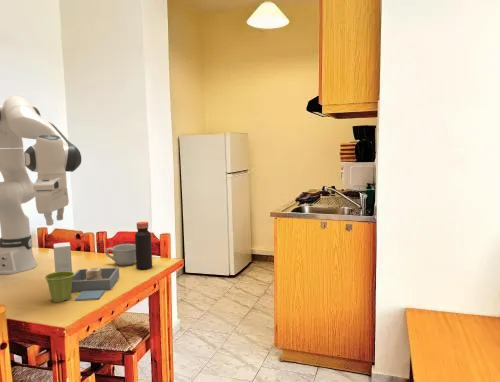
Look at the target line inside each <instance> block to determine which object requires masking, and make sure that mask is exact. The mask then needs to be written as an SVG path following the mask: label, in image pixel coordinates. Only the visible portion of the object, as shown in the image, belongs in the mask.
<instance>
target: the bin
mask: <svg viewBox="0 0 500 382" xmlns="http://www.w3.org/2000/svg"><path fill="white" fill-rule="evenodd" d="M100 268H101V275H102V280H86V271H87V270H88V269H89V268H83V269H82V268H81V269H78V270H77V271H76V272H74V276H73V279H72V289H71V293H81V292H82V291H96V290H105V291H112V289H113V287H115V284H116V283H117V281H118V280H119V279H120V268H119V267H107V268H106V267H104V268H102V267H100Z"/></svg>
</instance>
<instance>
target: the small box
mask: <svg viewBox="0 0 500 382" xmlns="http://www.w3.org/2000/svg"><path fill="white" fill-rule="evenodd" d="M71 249H72V248H71V243H70V242H69V241H68V242H58V243H57V242H56V243H53V255H54V256H53V257H54V259H53V261H54V273H55V272H62V271H70V272H73V265H72V250H71Z"/></svg>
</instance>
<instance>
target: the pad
mask: <svg viewBox="0 0 500 382" xmlns="http://www.w3.org/2000/svg"><path fill="white" fill-rule="evenodd" d="M104 294H105V290H96V291H82V292H79V294H78V295H77V296H76V298H75V300H74V301H75V302H76V301H78V302H79V301H96V300H97V301H98V300H100V299H101V298H102V296H104Z"/></svg>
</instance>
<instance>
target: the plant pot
mask: <svg viewBox="0 0 500 382" xmlns="http://www.w3.org/2000/svg"><path fill="white" fill-rule="evenodd" d="M74 274H75V272H73V271H72V272H70V271H62V272H55V271H54V272H50V273H49V274H46V275H45V276H44V279H45V280H46V282H47V284H48V289H49V294H50V298H51V301H53V302H56V303H57V302H58V303H60V302H61V303H62V302H64V301H68V300H70V299H71V298H72V292H71V289H72V279H73V276H74Z"/></svg>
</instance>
